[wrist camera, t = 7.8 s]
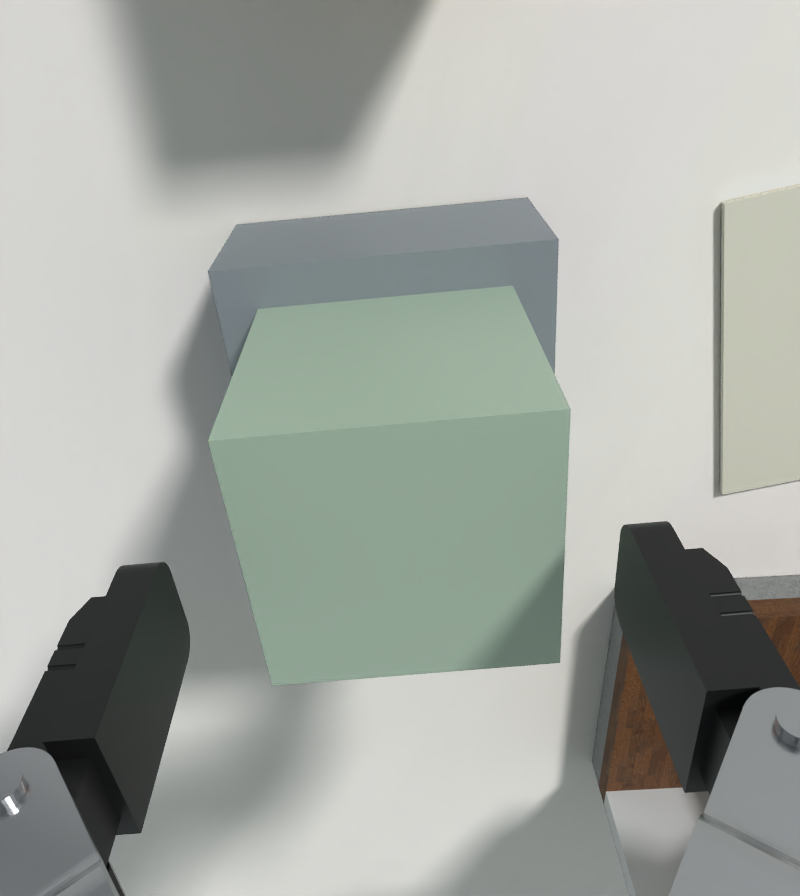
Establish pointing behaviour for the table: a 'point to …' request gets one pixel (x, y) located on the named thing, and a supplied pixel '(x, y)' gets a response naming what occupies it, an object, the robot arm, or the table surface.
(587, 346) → the table surface
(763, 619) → the white square tower
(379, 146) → the table surface
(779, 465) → the page
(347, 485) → the brick sage
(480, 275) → the base brick
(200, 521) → the table surface
